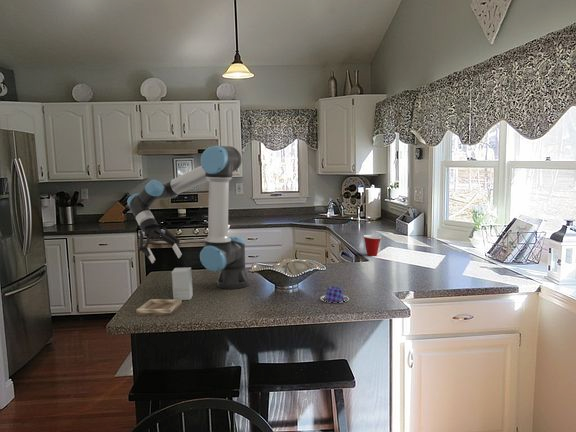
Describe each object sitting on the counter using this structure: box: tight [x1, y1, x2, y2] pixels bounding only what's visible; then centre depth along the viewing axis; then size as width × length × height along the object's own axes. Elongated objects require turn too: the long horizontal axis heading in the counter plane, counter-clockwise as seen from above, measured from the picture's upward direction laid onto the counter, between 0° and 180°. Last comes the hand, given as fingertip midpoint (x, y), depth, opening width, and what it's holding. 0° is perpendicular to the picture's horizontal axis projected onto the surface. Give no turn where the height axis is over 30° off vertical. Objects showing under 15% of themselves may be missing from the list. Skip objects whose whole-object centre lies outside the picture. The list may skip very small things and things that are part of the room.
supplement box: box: [171, 267, 194, 301], centre depth 202 cm, size 7×7×13 cm
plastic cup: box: [363, 234, 382, 257], centre depth 283 cm, size 11×11×12 cm
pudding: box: [319, 286, 350, 304], centre depth 196 cm, size 12×12×5 cm
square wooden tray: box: [135, 298, 184, 316], centre depth 187 cm, size 14×14×2 cm
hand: (167, 259), depth 208 cm, fingers open, 13 cm apart
